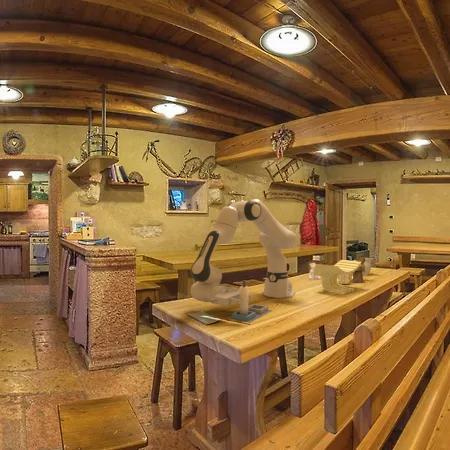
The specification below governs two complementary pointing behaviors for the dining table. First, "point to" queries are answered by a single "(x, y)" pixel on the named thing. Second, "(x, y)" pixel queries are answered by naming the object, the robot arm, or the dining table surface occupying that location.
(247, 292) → the knob-topped cream cylinder
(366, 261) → the pitcher
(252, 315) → the lever base plate
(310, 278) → the white creature statuette
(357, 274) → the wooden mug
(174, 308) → the dining table surface
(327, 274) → the slatted curved stool
